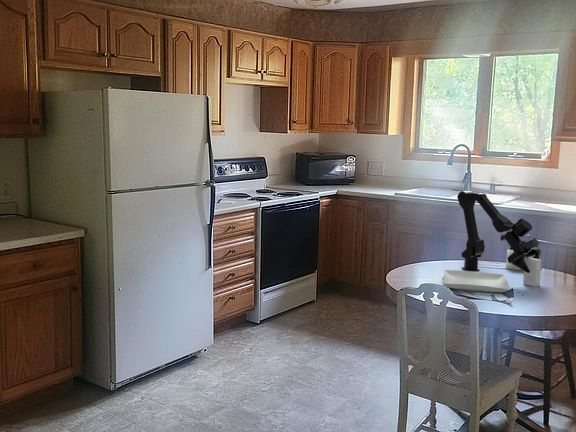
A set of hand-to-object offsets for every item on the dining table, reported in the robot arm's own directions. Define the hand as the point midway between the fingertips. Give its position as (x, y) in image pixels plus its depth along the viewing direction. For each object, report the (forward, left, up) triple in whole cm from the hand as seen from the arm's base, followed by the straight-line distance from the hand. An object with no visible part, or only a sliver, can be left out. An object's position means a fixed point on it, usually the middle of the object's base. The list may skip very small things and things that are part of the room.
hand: (535, 271), depth 266 cm
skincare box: (-1, 0, -7) cm, 7 cm away
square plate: (-7, -26, -7) cm, 28 cm away
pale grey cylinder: (-31, +16, -7) cm, 36 cm away
